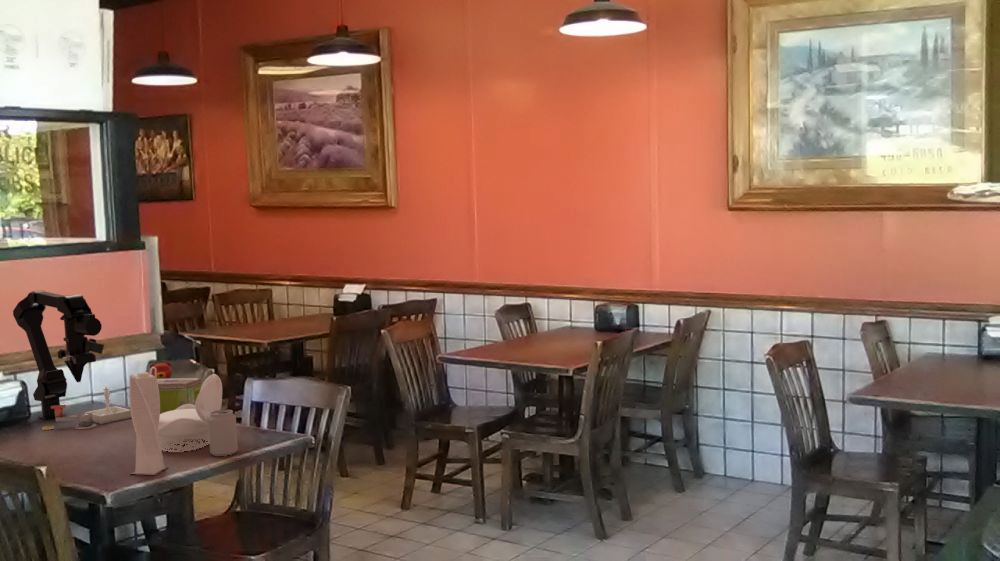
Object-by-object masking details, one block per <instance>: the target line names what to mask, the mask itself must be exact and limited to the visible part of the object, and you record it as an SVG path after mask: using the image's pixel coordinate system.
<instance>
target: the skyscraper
mask: <svg viewBox="0 0 1000 561" xmlns="http://www.w3.org/2000/svg"><path fill="white" fill-rule="evenodd" d="M153 368H154V369H155V376H153V375H151V374H152V369H153ZM149 369H150V368H149ZM128 388H129V390H128V391H129V394H128V395H129V407H130V409H129V410H131V416H132V418H131V421H132V425H133V428H134V431H135V435H136V439H135V440H136V441H135V442H136V443H135V470H134V471H132V472H130V473H129V475H130V474H153V475H155V474H156V473H158V472H160V471H161V470H164V469H166V468H168V469H169V466H165V463H164V456H163V451H162V450H161V446H160V441H159V437H158V432H157V431H158V425H159V418H160V396H159V388H158V382H157V369H156V368H155V367H152V368H151V369H150V370H149V372H146V371H143V372H138V373H137V375H134V374H130V375H129V387H128ZM166 470H167V469H166ZM164 471H165V470H164ZM160 473H161V472H160ZM155 476H156V475H155Z"/></svg>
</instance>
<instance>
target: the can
mask: <svg viewBox="0 0 1000 561" xmlns="http://www.w3.org/2000/svg"><path fill="white" fill-rule="evenodd" d="M233 412H234V411H233V410H232V409H220V410H217V411H213V412H211V413H210V417H209V418H208V429H209V453H210V454H211V455H213V456H214V455H216V456H215V457H217V456H224V457H228V456H227V455H230V456H233V455H235V454H236V452H237V451H238V450H239V446H238V445H239V444H238V443H239V442H238V430H237V429H238V428H237V416H236V415H235V414H234V413H233ZM234 453H235V454H234ZM232 454H233V455H232Z"/></svg>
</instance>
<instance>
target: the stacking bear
mask: <svg viewBox="0 0 1000 561" xmlns="http://www.w3.org/2000/svg"><path fill="white" fill-rule="evenodd" d="M152 367H155V368H156V369H157V379H170V378H172V374H173V371H172V368H171V367H172V364H171V362H165V363H163V362H159V363H156V364H155V363H151V364H150V365H149V369H151V368H152ZM151 375H153V376H155V369H154V368H153V369H152V374H151Z"/></svg>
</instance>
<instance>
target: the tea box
mask: <svg viewBox="0 0 1000 561" xmlns="http://www.w3.org/2000/svg"><path fill="white" fill-rule="evenodd" d="M157 382H158V388H159V396H160V414H162V413H164V412H168V411H172V410H175V409H177V408H178V407H180V406H182V405H184V404H193V405H195V402H196V399H197V397H198V395H199V393H200V389H201V386H202V384H203V382H202V377H183V378H181V377H179V378H178V377H177V378H173V377H171V378H170V379H157ZM200 404H201V403H200ZM201 405H202V404H201ZM201 405H200V406H201ZM202 407H203V406H202ZM183 409H184V408H183ZM186 409H187V408H186ZM188 409H190V408H189V407H188Z"/></svg>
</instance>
